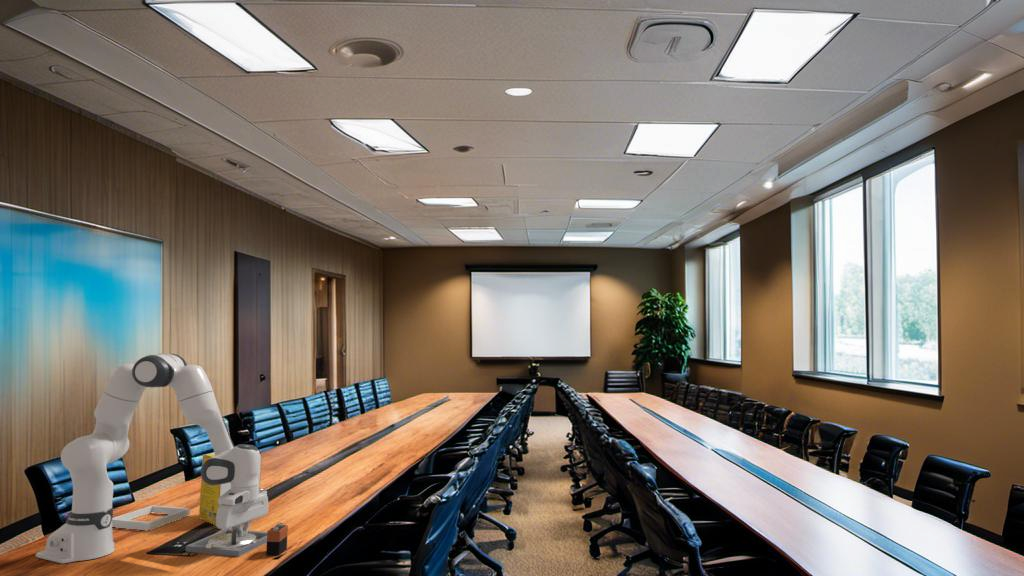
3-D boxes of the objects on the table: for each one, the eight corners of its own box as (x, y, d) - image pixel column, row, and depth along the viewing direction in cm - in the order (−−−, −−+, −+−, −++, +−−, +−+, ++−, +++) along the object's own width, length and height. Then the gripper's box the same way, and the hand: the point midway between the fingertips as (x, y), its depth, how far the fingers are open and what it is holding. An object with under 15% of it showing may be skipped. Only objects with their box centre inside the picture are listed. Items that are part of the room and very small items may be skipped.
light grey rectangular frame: (107, 527, 228) (108, 519, 228) (151, 512, 248) (152, 505, 248) (147, 531, 224) (148, 522, 224) (189, 516, 244) (189, 508, 245)
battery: (287, 553, 203) (288, 522, 204) (278, 560, 196) (280, 528, 197) (274, 552, 203) (275, 521, 204) (265, 559, 196) (266, 527, 197)
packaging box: (238, 510, 253) (242, 449, 256) (258, 518, 243) (261, 454, 246) (198, 518, 241) (202, 454, 243) (217, 526, 231) (221, 459, 233)
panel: (185, 555, 199) (186, 542, 199) (226, 537, 218) (226, 525, 219) (238, 560, 195) (239, 548, 195) (275, 541, 214) (276, 530, 215)
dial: (207, 541, 210) (208, 521, 210) (253, 535, 217) (254, 516, 217) (208, 554, 197) (209, 533, 197) (258, 547, 204) (259, 527, 204)
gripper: (259, 486, 216) (257, 526, 215) (213, 499, 197) (211, 543, 195) (273, 487, 214) (271, 528, 212) (228, 501, 195) (226, 546, 193)
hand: (242, 535), depth 204 cm, fingers closed
